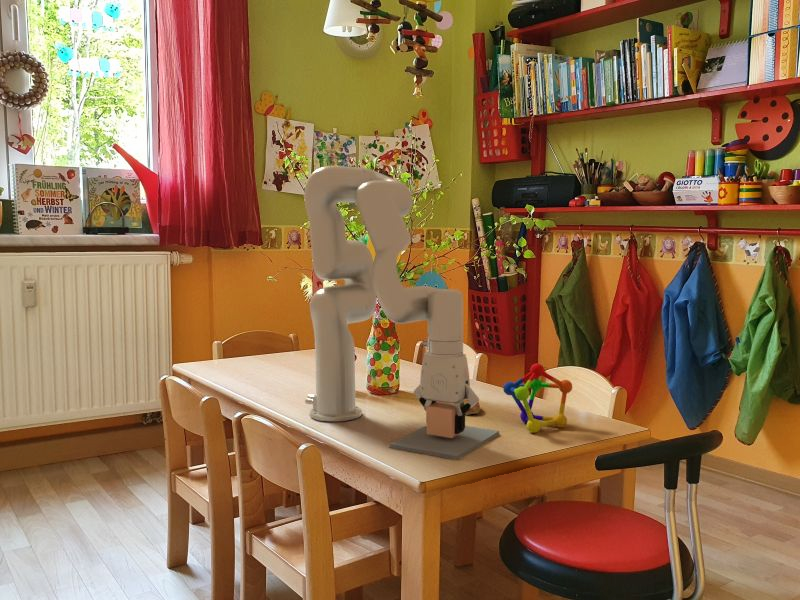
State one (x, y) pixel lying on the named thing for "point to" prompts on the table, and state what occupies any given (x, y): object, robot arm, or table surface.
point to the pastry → (473, 408)
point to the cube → (441, 419)
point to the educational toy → (522, 394)
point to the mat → (445, 442)
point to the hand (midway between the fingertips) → (445, 429)
